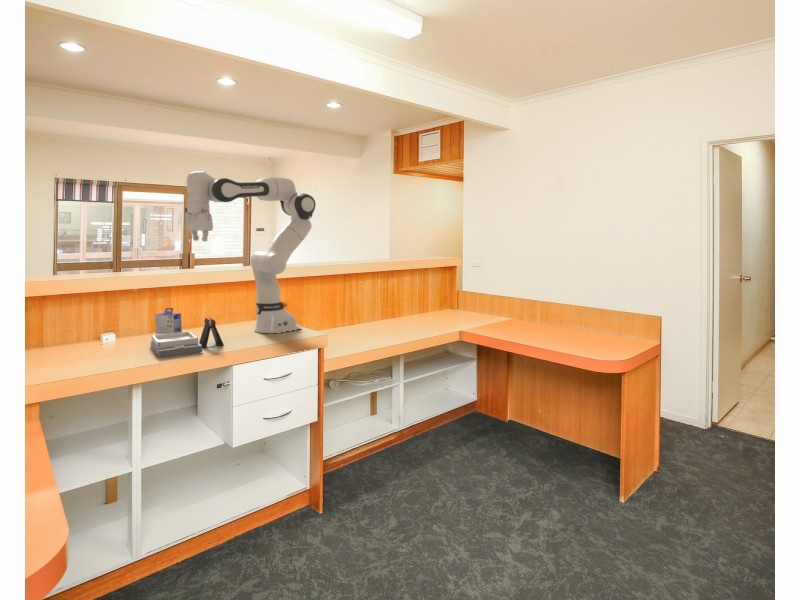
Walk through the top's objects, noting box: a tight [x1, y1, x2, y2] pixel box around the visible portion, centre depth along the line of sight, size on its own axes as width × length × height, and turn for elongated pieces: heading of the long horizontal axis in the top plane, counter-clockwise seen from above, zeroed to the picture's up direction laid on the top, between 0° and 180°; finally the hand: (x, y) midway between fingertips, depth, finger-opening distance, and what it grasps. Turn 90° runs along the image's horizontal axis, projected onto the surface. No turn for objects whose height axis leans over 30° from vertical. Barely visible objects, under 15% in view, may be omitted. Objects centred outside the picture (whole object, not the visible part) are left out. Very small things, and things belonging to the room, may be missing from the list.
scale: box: [150, 330, 203, 359], centre depth 203 cm, size 16×20×5 cm
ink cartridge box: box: [154, 307, 183, 335], centre depth 220 cm, size 10×6×14 cm, turn 79°
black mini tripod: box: [198, 317, 224, 349], centre depth 211 cm, size 9×6×12 cm, turn 126°
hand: (200, 241), depth 217 cm, fingers open, 8 cm apart
